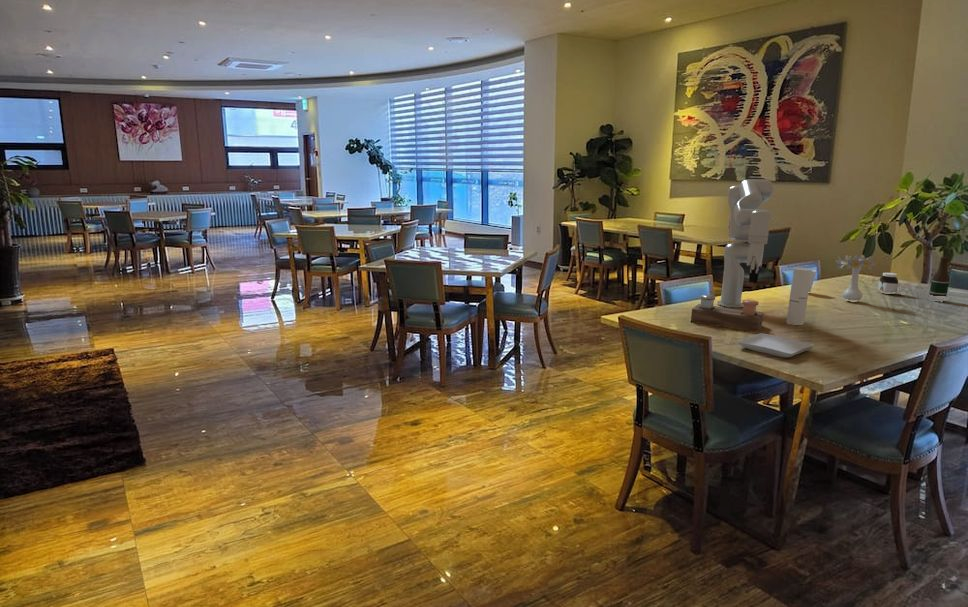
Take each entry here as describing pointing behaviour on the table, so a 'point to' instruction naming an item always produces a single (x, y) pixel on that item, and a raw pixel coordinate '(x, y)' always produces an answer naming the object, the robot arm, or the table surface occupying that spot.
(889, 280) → the spread jar
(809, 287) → the foam cup
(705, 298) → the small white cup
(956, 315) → the table surface
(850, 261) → the flower vase
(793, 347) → the salad plate
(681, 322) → the table surface
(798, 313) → the white tall box
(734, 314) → the button stand
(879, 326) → the table surface
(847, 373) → the table surface
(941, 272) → the beer bottle
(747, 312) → the terracotta plunger
